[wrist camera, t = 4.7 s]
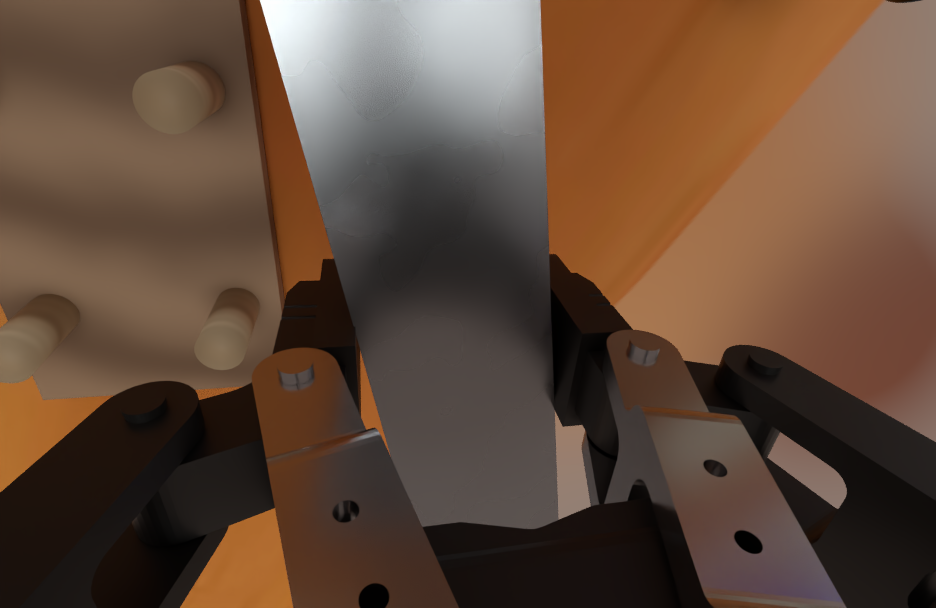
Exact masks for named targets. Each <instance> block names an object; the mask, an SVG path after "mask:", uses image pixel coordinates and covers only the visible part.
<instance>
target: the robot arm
mask: <svg viewBox="0 0 936 608" xmlns="http://www.w3.org/2000/svg"><path fill="white" fill-rule="evenodd" d="M549 266H550V294H551V323H552V352H553V380H554V404H553V407H554V409H555V412H556V413H557V416H558V417H559V420H560V422H561V424H562V426H563V427H564V426H575V425H583V427H584V428H585V434H584V438H583V442H582V453H583V459H584V466H585V472H586V478H587V485H588V491H589V496H590V503H591V507H589V508H586V509H584V510H581V511H579V512H576V513H574V514H571V515H569V516H567V517H564V518H562V519H560V520H557V521H555V522H552V523H550V524H547V525H545V526H542V527H540V528H536V529H523V528H514V527H504V526H495V525H485V524H476V523H466V522H456V523H449V524H441V525H433V526H425V527H422V525H421V523H420V521H419V519H418V516H417V514H416V512H415V510H414V508H413V505H412V503H411V501H410V499H409V497H408V494H407V492H406V490H405V488H404V486H403V483H402V481H401V479H400V477H399V474H398V472H397V470H396V468H395V466H394V463H393V461H392V459H391V457H390V455H389V452H388V450H387V448H386V446H385V444H384V441H383V439H382V437H381V435H380V433H379V432H378V430H377V429H376V428H371V429H368V430H366V428H365V426H364V424H363V421H362V419H361V384H360V347H359V344H358V340H357V337H356V328H355V327H354V326H353V323H352V319H351V316H350V312H349V309H348V305H347V302H346V298H345V295H344V291H343V288H342V284H341V281H340V277H339V274H338V270H337V267H336V263H335V260H334V259H323V263H322V271H321V278H320V280H319V281H299V282H298V283H297V284H296V285H295V286H294V287H293V288H292V289H291V290H289V291H288V292H287V295H286V299H285V303H284V309H283V312H282V316H281V320H280V324H279V329H278V333H277V337H276V341H275V345H274V350H273V354H272V355H270V356H269V357H267V358H265V359H264V360H263V361H261V362H260V363H259V364H258V365H257V366H256V367H255V369H254V371H253V373H252V382H251V383H250V384H248V385H246V386H244V387H242V388H239V389H237V390H234V391H231V392H228V393H224V394H220V395H217V396H213V397H209V398H206V399H202V400H199V398H198V395H197V393H196V391H195V390H194V389H193V388H192V387H191V386H189V385H187V384H184V383H181V382H177V381H155V382H149V383H144V384H141V385H137V386H134V387H131V388H129V389H126V390H124V391H122V392H120V393H118V394H116V395H115V396H113V397H111V398H110V399H108V400H107V401H106V402H104V403H103V404H102V405H101V406H100V407H98V408H97V409H96V410H95V411H94V412H93V413H92V414H90V415H89V416H88V417H87V418H86V419H85V420H83V421H82V422H81V423H80V424H79V425H78V426H77V427H75V428H74V429H73V430H72V431H71V432H70V433H69V434H67V435H66V436H65V437H64V438H63V439H62V440H60V441H59V442H58V443H57V444H56V445H55V446H54V447H52V448H51V449H50V450H49V451H48V452H47V453H45V454H44V455H43V456H42V457H41V458H40V459H39V460H37V461H36V462H35V463H34V464H33V465H32V466H30V467H29V468H28V469H27V470H26V471H25V472H24V473H22V474H21V475H20V476H19V477H18V478H17V479H15V480H14V481H13V482H12V483H11V484H10V485H9V486H7V487H6V488H5V489H4V490H3V491H2V492H0V608H180V606H181V605H182V603H183V601H184V600H185V598H186V597H187V595H188V593H189V592H190V590H191V589H192V587H193V585H194V584H195V582H196V581H197V579H198V577H199V576H200V574H201V573H202V571H203V569H204V568H205V566H206V565H207V563H208V561H209V560H210V558H211V557H212V555H213V553H214V552H215V550H216V549H217V547H218V545H219V544H220V542H221V541H222V539H223V537H224V536H225V534H226V532H227V529H228V526H229V525H232V524H234V523H237V522H239V521H242V520H245V519H247V518H250V517H252V516H255V515H258V514H260V513H263V512H265V511H268V510H271V509H273V508H275V510H276V516H277V521H278V527H279V532H280V537H281V543H282V548H283V554H284V559H285V565H286V570H287V575H288V581H289V586H290V592H291V597H292V602H293V608H936V442H934V441H932V440H931V439H929V438H927V437H925V436H924V435H922V434H920V433H918V432H916V431H915V430H913V429H911V428H910V427H908V426H906V425H904V424H902V423H901V422H899V421H897V420H895V419H894V418H892V417H890V416H888V415H886V414H885V413H883V412H881V411H879V410H877V409H876V408H874V407H872V406H870V405H869V404H867V403H865V402H864V401H862V400H860V399H858V398H856V397H855V396H853V395H851V394H849V393H848V392H846V391H844V390H842V389H840V388H839V387H837V386H835V385H833V384H832V383H830V382H828V381H826V380H825V379H823V378H821V377H819V376H818V375H816V374H814V373H812V372H810V371H809V370H807V369H805V368H803V367H802V366H800V365H798V364H796V363H795V362H793V361H791V360H789V359H787V358H786V357H784V356H782V355H780V354H778V353H776V352H773V351H771V350H768V349H765V348H761V347H756V346H750V345H736V346H732V347H729V348H727V349H726V351H725V352H724V354H723V357H722V359H721V362H720V364H719V366H718V365H711V364H704V363H697V362H690V361H684V360H683V358H682V356H681V354H680V353H679V351H678V349H677V348H676V347H675V346H674V345H672V343H670V342H669V341H667V340H665V339H664V338H662V337H660V336H657V335H655V334H652V333H649V332H645V331H639V330H633V329H632V328H631V327H630V326H629V324H628V323H627V322H626V321H625V320H624V319H623V317H622V316H621V315H620V314H619V313H618V312H617V310H616V309H615V308H614V307H613V306H612V305H610V302H609V301H608V300H607V298H606V297H605V296H602V293H601V291H600V290H599V289H598V288H597V287H596V286H595V284H594V283H593V282H591V281H590V280H588V279H586V278H584V277H583V276H581V275H579V274H578V273H571V272H570V271H569V270H568V268H567V267H566V266H565V265H564V263H563V262H562V261H561V260H560V258H559V257H558V256H557V255H556V254H549ZM780 432H781V433H783V434H784V435H786V436H787V437H789V438H790V439H791V440H793V441H794V442H796V443H797V444H799V445H800V446H802V447H803V448H805V449H806V450H808V451H809V452H811V453H812V454H813V455H815V456H816V457H818V458H819V459H821V460H822V461H824V462H825V463H827V464H828V465H829V466H831V467H832V468H834V469H835V470H836V471H837V472H838V473H839V474H840V476H841V477H842V478H843V480H844V482H845V484H846V488H847V495H846V498H845V500H844V502H843V503H842V505H841V506H840V508H839V509H836V508H835V507H833V506H832V505H830V504H829V503H828V502H827V501H825V500H824V499H822V498H821V497H820V496H818V495H817V494H816V493H814V492H813V491H811V490H810V489H809V488H808V487H806V486H805V485H803V484H802V483H801V482H799V481H798V480H797V479H795V478H794V477H793V476H791V475H790V474H788V473H787V472H786V471H785V470H783V469H782V468H781V467H779V466H778V465H776V464H775V463H774V462H772V461H771V460H770V459H768V458H767V457H768V455H769V453H770V451H771V449H772V447H773V445H774V443H775V441H776V439H777V437H778V435H779V433H780Z"/></svg>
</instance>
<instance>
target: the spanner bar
mask: <svg viewBox="0 0 936 608" xmlns="http://www.w3.org/2000/svg"><path fill="white" fill-rule="evenodd" d="M260 2H261V5H262V9H263V12H264V16H265V19H266V23H267V26H268V30H269V33H270V37H271V40H272V44H273V47H274V51H275V54H276V58H277V61H278V65H279V68H280V72H281V75H282V79H283V82H284V86H285V89H286V93H287V96H288V100H289V103H290V106H291V110H292V113H293V117H294V120H295V124H296V127H297V131H298V134H299V138H300V141H301V145H302V148H303V152H304V155H305V159H306V162H307V166H308V169H309V173H310V176H311V180H312V183H313V187H314V190H315V194H316V197H317V201H318V204H319V208H320V211H321V215H322V218H323V222H324V225H325V229H326V232H327V236H328V239H329V243H330V246H331V249H332V253H333V256H334V260H335V263H336V267H337V270H338V274H339V277H340V281H341V284H342V288H343V291H344V295H345V298H346V302H347V305H348V309H349V312H350V316H351V319H352V323H353V326H354V327H355V328H356V337H357V340H358V344H359V347H360V351H361V354H362V358H363V361H364V365H365V368H366V372H367V375H368V379H369V382H370V385H371V389H372V392H373V396H374V399H375V403H376V406H377V410H378V413H379V417H380V420H381V424H382V427H383V431H384V434H385V438H386V441H387V445H388V448H389V452H390V455H391V459H392V461H393V463H394V466H395V468H396V470H397V472H398V474H399V477H400V479H401V481H402V483H403V486H404V488H405V490H406V492H407V494H408V497H409V499H410V501H411V503H412V505H413V508H414V510H415V512H416V514H417V516H418V519H419V521H420V523H421V525H422V527H425V526H433V525H441V524H449V523H456V522H466V523H476V524H485V525H495V526H504V527H514V528H523V529H536V528H540V527H542V526H545V525H547V524H550V523H552V522H555V521H557V520H558V495H557V468H556V467H557V466H556V439H555V409H554V407H553V404H554V380H553V352H552V323H551V294H550V266H549V237H548V208H547V180H546V151H545V123H544V94H543V65H542V37H541V8H540V0H260Z"/></svg>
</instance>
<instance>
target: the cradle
mask: <svg viewBox="0 0 936 608" xmlns="http://www.w3.org/2000/svg"><path fill="white" fill-rule="evenodd" d="M284 303H285V300H284V292H283V285H282V277H281V270H280V262H279V255H278V247H277V240H276V232H275V225H274V217H273V210H272V202H271V195H270V187H269V180H268V172H267V165H266V157H265V149H264V142H263V134H262V127H261V119H260V112H259V104H258V97H257V89H256V82H255V74H254V67H253V59H252V52H251V44H250V37H249V29H248V22H247V14H246V7H245V0H0V304H1V306H2V308H3V311H4V313H5V315H6V317H7V320H8V322H7V323H6V324H4V325H3V326H2V327H1V328H0V382H3V383H18V382H22V381H25V380H27V379H28V378H30V377H31V376H33V378H34V380H35V382H36V385H37V387H38V389H39V391H40V394H41V396H42V398H43V400H50V399H65V398H79V397H94V396H109V395H116V394H118V393H120V392H122V391H124V390H126V389H129V388H131V387H134V386H137V385H141V384H144V383H149V382H155V381H177V382H181V383H184V384H187V385H189V386H191V387H192V388H193V389H194V390H196V389H211V388H226V387H240V386H246V385H248V384H250V383H251V382H252V373H253V371H254V369H255V367H256V366H257V365H258V364H259V363H260V362H261V361H263V360H264V359H265V358H267V357H269V356H270V355H272V354H273V350H274V345H275V341H276V337H277V333H278V329H279V324H280V320H281V316H282V312H283V309H284Z"/></svg>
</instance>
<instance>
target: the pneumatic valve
mask: <svg viewBox="0 0 936 608" xmlns="http://www.w3.org/2000/svg"><path fill="white" fill-rule="evenodd" d="M887 1H890V2H895V3H907V2H915V1H921V0H887Z"/></svg>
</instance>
